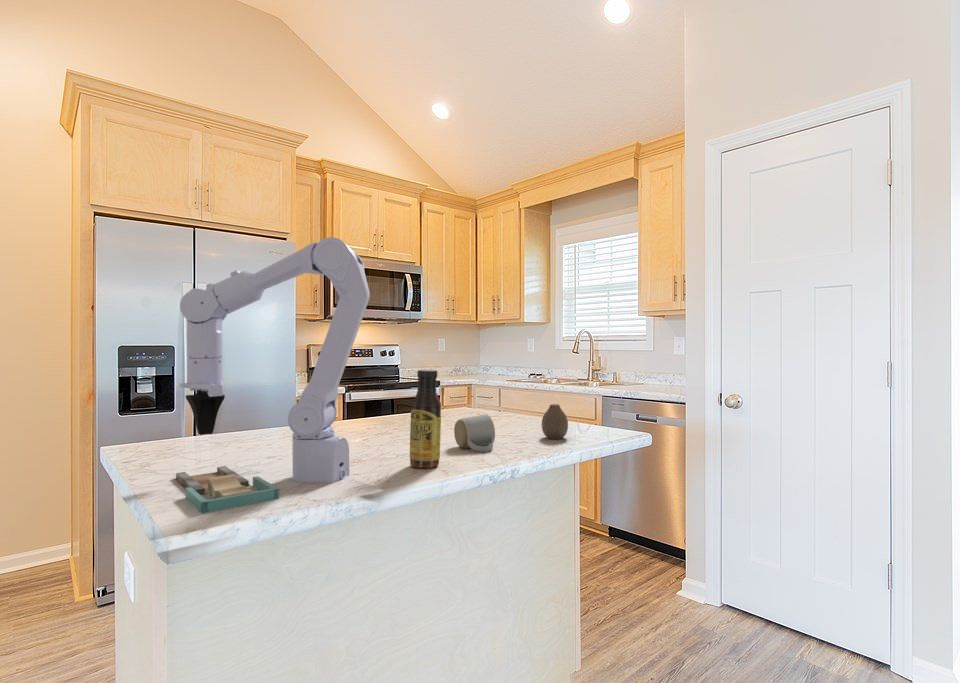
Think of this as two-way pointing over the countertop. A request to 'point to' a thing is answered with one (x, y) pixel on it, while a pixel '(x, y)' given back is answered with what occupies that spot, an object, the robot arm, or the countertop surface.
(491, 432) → the ceramic mug
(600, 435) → the countertop surface
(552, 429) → the vase
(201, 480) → the slot track
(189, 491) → the teal u-shaped rail
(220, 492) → the tan wooden block
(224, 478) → the chip
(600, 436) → the countertop surface
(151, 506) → the countertop surface
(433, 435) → the sauce bottle
